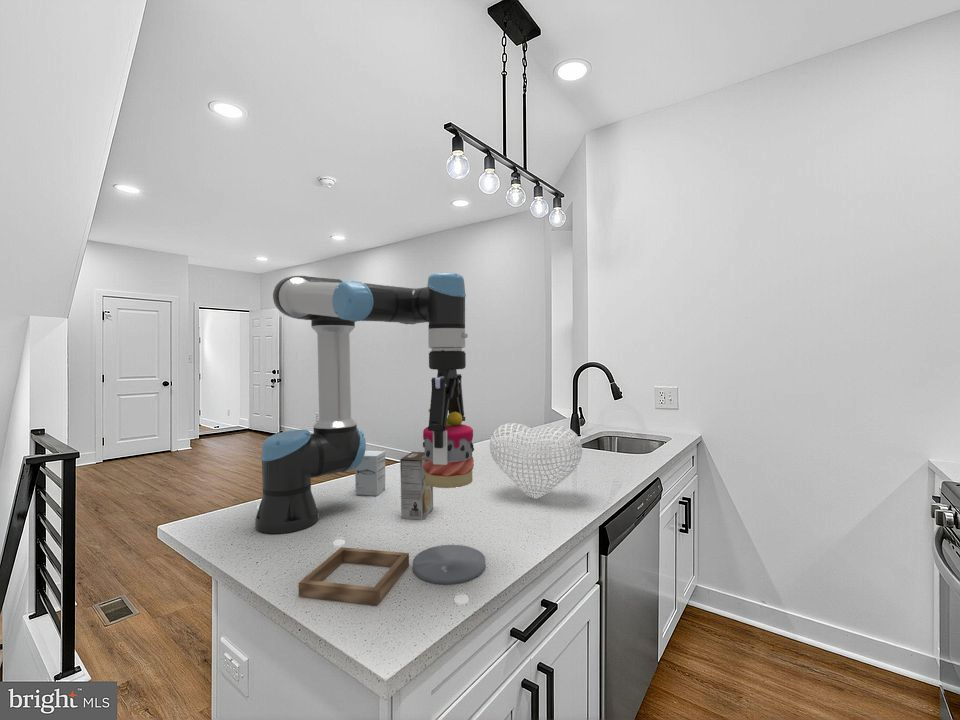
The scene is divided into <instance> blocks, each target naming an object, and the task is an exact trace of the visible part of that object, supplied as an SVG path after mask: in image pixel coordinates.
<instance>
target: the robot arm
mask: <svg viewBox="0 0 960 720" xmlns="http://www.w3.org/2000/svg"><path fill="white" fill-rule="evenodd" d="M427 279H428V280H427V285H426V287H418V288H416V287H415V288H413V287H412V288H410V287H403V286H394V285H384V284H376V283H368V282H367V283H366V282H362V281H353V280H352V281H348V280H342V279H340V278H337V279H336V278H329V277H328V278H327V277H319V276H318V277H316V276H308V275H291V276H288V277H285V278H283V279H281V280H280V281H279V282H277V284H276V285H275V286H274V289H273V293H272V300H273V303H274V304H273V305H274V306H275V307H276V309H277V310H278V311H279V312H280V313H282V314H283V315H285V316H287V317H289V318H292V319H297V320H303V321H311V322H310V323H311V329H312V330H313V331H315V333H316V334H317V370H318V371H317V379H318V382H317V383H318V385H317V387H318V420H317V421H316V423H314V424H313V432H312V433H311V432H310V431H309V430H308V429H295V430H287V431H282V432H278V433H274V434H272V435H270V436H268V437H267V438H266V439H265V440H264V441H263V442H262V444H261V455H260V456H261V457H260V459H261V471H262V472H261V476H262V477H261V479H262V483H261V484H262V486H261V487H262V496H261V500H260V502H259V506H258V510H257V512H256V513H257V514H256V516H255V522H254V523H255V529H256V530H257V531H258V532H260V531H261V533H263V532H264V533H263V534H274V533H275V534H287V533H293V532H297V531H301V530H305V529H306V528H309V527H311V526H313V525H314V524H316V523H317V522H318V521H319V508H318V507H317V504H316V501H315V498H314V495H313V493H312V479H313V478H318V477H322V476H323V477H324V476H327V475H332V474H337V473H346V472H348V471H350V470H353V469H355V468H356V467H357V466H359V464H360V463H361V462H362V460H363V458H364V455H365V450H366V448H367V447H366V446H367V444H366V437H364V435H365V434H364V433H363V431H362V430H361V429H360V428H358V427H357V422H356V421H355V420H354V419H353V418H352V400H351V399H352V397H351V390H352V389H351V350H350V349H351V347H350V346H351V345H350V344H351V343H350V333H351V332H353V330H354V329H355V328H356V323H357V322H382V323H383V322H385V323H399V324H402V325H416V324H422V323H423V324H424V323H428V325H427V326H428V330H427V331H428V334H427V335H428V337H427V338H428V348H429V349H431V351H429V352H428V367H429V369H430V370H437V375H436V377H431V380H430V381H431V396H430V406H429V409H430V413H429V416H428V417H429V418H428V426H427V427H428V431H433V464H440V465H447V464H448V456H447V430H445V429H446V421H447V418H448V415H449V414H450V413H452V412H458V413H459V414H461V416H462V423H463V422H465V421H466V416H465V409H464V408H465V407H464V398H463V389H462V388H463V387H462V374H461V373H458V372H457V370H464V369H466V364H467V361H466V352H465V350H463V349H464V348H465V347H466V339H467V338H468V337H469V336H468V333H466V296H467V294H466V287H465V279H464V277H463V275H461V274H459V273H455V272H435V273H431V274H430V275H429V276H428V278H427ZM462 423H461V424H462ZM366 451H367V450H366ZM292 531H293V532H292ZM286 532H287V533H286Z"/></svg>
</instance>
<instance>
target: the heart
mask: <svg viewBox="0 0 960 720" xmlns="http://www.w3.org/2000/svg"><path fill="white" fill-rule="evenodd" d="M546 433H547V434H546ZM512 434H513V435H512ZM564 438H566V439H564ZM531 439H532V440H531ZM560 439H561V441H560ZM580 439H581V438H580V437H579V436H578V434H577V433H576V432H575V431H574V430H572V429H571V428H570V427H567V426H563V425H551V426H547V427H542V428H537V429H536V428H532V427H530V426H527V425H525V424H523V423H517V422H508V423H504V424H502V425H500V426H498V427H497V428H495V430H494V431H493V433H492V435H491V436H490V439H489V440H490V441H489V451H490V452H489V453H490V454H491V457H492V459H493V461H494V462H495V464H496V466H498V468H499V469H500V470H501V471H502V472H503V473H504V474H505V475H506V476H507V477H508V478H509V479H510V480H511V481H512V482H513V483H514V484H515V485H516V486H517V487H518V488H519V489H520V490H521V491H522V492H523V493H524V494H525V495H526V496H527V497H530V498H531V499H540V498H542V497H544V496H545V495H547V494H549V493H550V492H551V491H553V489H554V488H555V487H557V486H558V485H559V484H560V483H562V482H563V481H564V480H566V479H567V478H568V477H569V476H570V475H571V474H572V473H573V472H574V471H575V469H577V468H578V465H579V463H580V461H581V459H582V456H583V445H582V442H581V440H580ZM547 441H548V443H547ZM542 442H544V443H542ZM569 443H570V444H569ZM557 444H558V445H557ZM565 444H566V446H565ZM547 447H548V448H547ZM552 447H553V448H552ZM526 449H527V450H526ZM530 449H531V451H530ZM557 449H558V450H557ZM506 450H507V451H506ZM534 450H535V452H534ZM538 450H539V451H538ZM511 452H512V453H511ZM520 453H521V454H520ZM515 454H516V455H515ZM524 454H526V456H525V455H524ZM501 455H502V456H501ZM529 455H530V456H529ZM533 455H535V458H534V457H533ZM557 455H558V456H557ZM538 456H539V458H538ZM543 456H544V457H543ZM543 461H544V462H545V463H543ZM548 461H549V463H548ZM506 462H507V463H506ZM520 465H521V466H520ZM524 466H526V467H524ZM530 466H532V467H530ZM536 466H537V467H536ZM560 467H561V468H560ZM513 469H514V470H513ZM524 470H527V472H524ZM530 471H533V472H530ZM542 472H543V473H542ZM547 472H549V473H547ZM526 475H528V476H526ZM531 475H532V476H533V477H531ZM537 476H538V477H537ZM544 481H546V482H544Z"/></svg>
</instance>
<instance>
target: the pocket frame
mask: <svg viewBox="0 0 960 720" xmlns="http://www.w3.org/2000/svg"><path fill="white" fill-rule="evenodd" d="M344 562H345V563H355V564H362V565H374V566H386V567H389V568H388V570H387V571H386V572H385V573H384V574H383V576H382V577H381V578H380V579H379V581H377V583H375V585H374V586H368V585H367V586H365V585H357V584H346V583H341V582H340V583H338V582H329V581H324V580H325V579H326V578H328V576H330V575H331V574H332V573H333V572H334V571H335V570H337V568H338V567H339V566H340V564H341V565H342V564H343V563H344ZM409 566H410V553H409V552H401V551H400V552H398V551H390V550H389V551H388V550H378V549H366V548H355V547H354V548H353V547H344V546H341V547H339V548H338V549H336V551H335V552H333V553H332V554H331V555H330V556H328V558H326V559H325V560H324V561H323V562H322V563H320V564H319V565H318V566H317V567H315V568H314V569H313V570H312V571H311V572H310V573H308V574H307V575H306V576H305V577H304V578H302V579H301V580H300V581H299V582H298V585H297V586H298V597H301V596H302V597H303V598H310V599H317V600H319V599H320V600H328V601H336V602H345V603H353V604H354V603H355V604H361V605H362V604H363V605H369V606H370V605H371V606H378V605H379V604H380V603H381V602H382V600H383V599H384V598H385V596H386V595H387V594H388V593H389V591H390V590H391V589H392V587H393V586H394V585H395V584H396V582H397V581H398V580H399V579H400V577H401V576H402V575H403V574H404V572H406V570H407V569H408V567H409ZM321 581H322V582H321ZM302 597H301V598H302Z"/></svg>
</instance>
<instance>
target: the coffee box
mask: <svg viewBox="0 0 960 720" xmlns="http://www.w3.org/2000/svg"><path fill="white" fill-rule="evenodd" d="M424 457H425V451H410V452H409V453H407V454H406V455H404V456H403V457H402V458H400V460H399V461H400V464H399V466H400V468H399V469H400V507H401V508H400V509H401V511H400V514H401V515H400V517H401V519H410V520H422V521H423V520H424V519H425V518H426V517H427V516H428V514H429V513H430V512H431V511H432V510H433V509H434V487H432V486H429V485H427V484H426V483H425V470H424V469H423V465H424V464H425V463H426V462H425V460H424Z"/></svg>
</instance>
